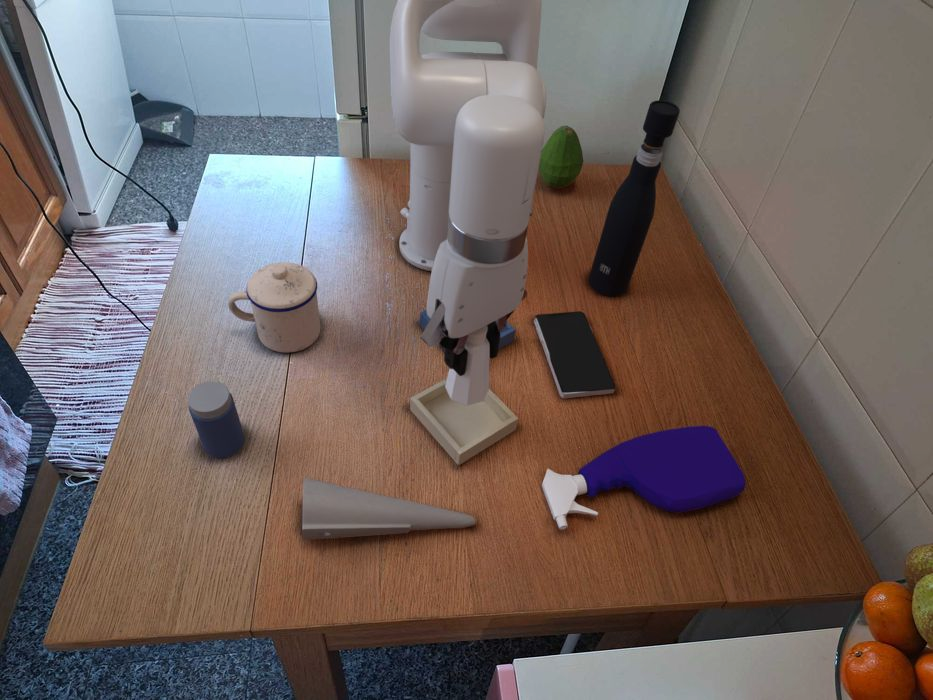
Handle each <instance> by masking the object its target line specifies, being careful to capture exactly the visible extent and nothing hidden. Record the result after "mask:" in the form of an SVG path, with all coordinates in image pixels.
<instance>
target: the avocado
mask: <svg viewBox="0 0 933 700" xmlns="http://www.w3.org/2000/svg"><path fill="white" fill-rule="evenodd" d="M583 156H584V155H583V148H582V145H581V142H580V138H579V136H578V134H577V132H576V131H575V130H574V128H572V127H571V126H569V125H562V126H559V127H558V128H556V129H555V130H554V131H553V132H552V134H551V135H550V137H548V140H547V141H546V142H545V144H544V145H543V147H542V152H541V158H540V163H539V169H538V173H539V175H540V179H541V181H542V182H543V184H544V185H546V186H547V187H549V188H553V189H563V188H565V187H568V186H569V185H572V184H573V183H574V182H575V181H576V180H577V178H578V177H579V175H580V173H581V171H582V168H583V164H584V157H583Z"/></svg>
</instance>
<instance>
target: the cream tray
mask: <svg viewBox="0 0 933 700" xmlns="http://www.w3.org/2000/svg"><path fill="white" fill-rule="evenodd" d="M446 381H447V377H446V378H445V379H442V380H440V381H438V382H437V383H435V384H433V385H432V386H430V387H427V388H426V389H424V390H422V391H420V392H419V393H417V394H415V395H413V396H412V397H410V398H409V399H410V400H409V401H410V403H409V410H410V412H412V414H413V415H414V416H415V417H416V418H417V420H418V421H419V422H420V423H421V424H422V425H423V427H424V428H425V429H426V430H427V431H428V432H429V434H430V435H431V436H432V437H433V438H434V439H435V441H436V442H438V444H439V445H440V446H441V447H442V449H443V450H444V451H445V452H446V453H447V454H448V455H449V457H450V458H451V459H452V460H453V462H454V463H456V465H457V466H461V465H462V464H464V463H465V462H467V461H468V460H470V459H472V458H474V457H475V456H477V455H478V454H479V453H481V452H483V451H484V450H486V449H487V448H489V447H490V446H492V445H493V444H495V443H497V442H498V441H500V440H502V439H503V438H505V437H507V436H508V435H510V434H511V433H513V432H515V431H516V430H517V426H518V422H519V417H518V416H517V415H516V414H515V413H514V412H513V411H512V410H511V409H510V408H509V407H508V406H507V405H506V404H505V403H504V402H503V401H502V400H501V398H499V397H498V396H497V395H496V394H495V393H494V392H493V391H492V389H490V388H489V391H488V393H487V395H486V396H485V398H484V400H483V402H479V403H476V404H472V405H468V406H466V405H463V404H461V403H458V402H456V401H453V400H451V398H450V396H449V394H448V392H447V390H446V388H445V385H446Z"/></svg>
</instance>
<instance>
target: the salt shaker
mask: <svg viewBox="0 0 933 700" xmlns="http://www.w3.org/2000/svg"><path fill="white" fill-rule="evenodd" d="M487 330H488V327H487V325H486V326H484V327H482V328H480V329H478V330H476V331H474V332H472V333H470V334H468V338H467V341H466V344H465V349H466V350H467V351H468V357H467V365H466V372H465V374H464V375H462V376H459V375H458V374H457V373H456V372H455V371H454V370H453V369H450V368H449V369H448V373H447V377H446V378H447V381H446V385H445V388H446V390H447V392H448V394H449V396H450V398H451V400H453V401H456V402H458V403H461V404H463V405H466V406H468V405H472V404H476V403H479V402H483V400H484V398H485V396H486V395H487V393H488V391H489V389H490V359H491V358H490V346H489V342H488V340H487V338H486V333H487Z"/></svg>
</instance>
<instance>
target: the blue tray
mask: <svg viewBox="0 0 933 700" xmlns="http://www.w3.org/2000/svg"><path fill="white" fill-rule="evenodd" d="M429 321H430V318H429V317H428V315H427V308H426V309H424V310H422V311H421V312H419V326H420V327H421V328H422V329H423V330H425V328H426V326H427V325H428V323H429ZM516 330H517V329H516V328H515V327H514V326H512V325H511V324H510V323H509V322H508V321H507V326H506V328H505V330H504V331H502V332H500V334H501V335H500V341H499V347H498V351H499V350H501V349H502V348H505V347H506V346H508V345H510V344H512V343H513V342H514V341H515V337H516ZM440 348H442V350H444V351H445V348H443V347H442V346H440Z"/></svg>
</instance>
